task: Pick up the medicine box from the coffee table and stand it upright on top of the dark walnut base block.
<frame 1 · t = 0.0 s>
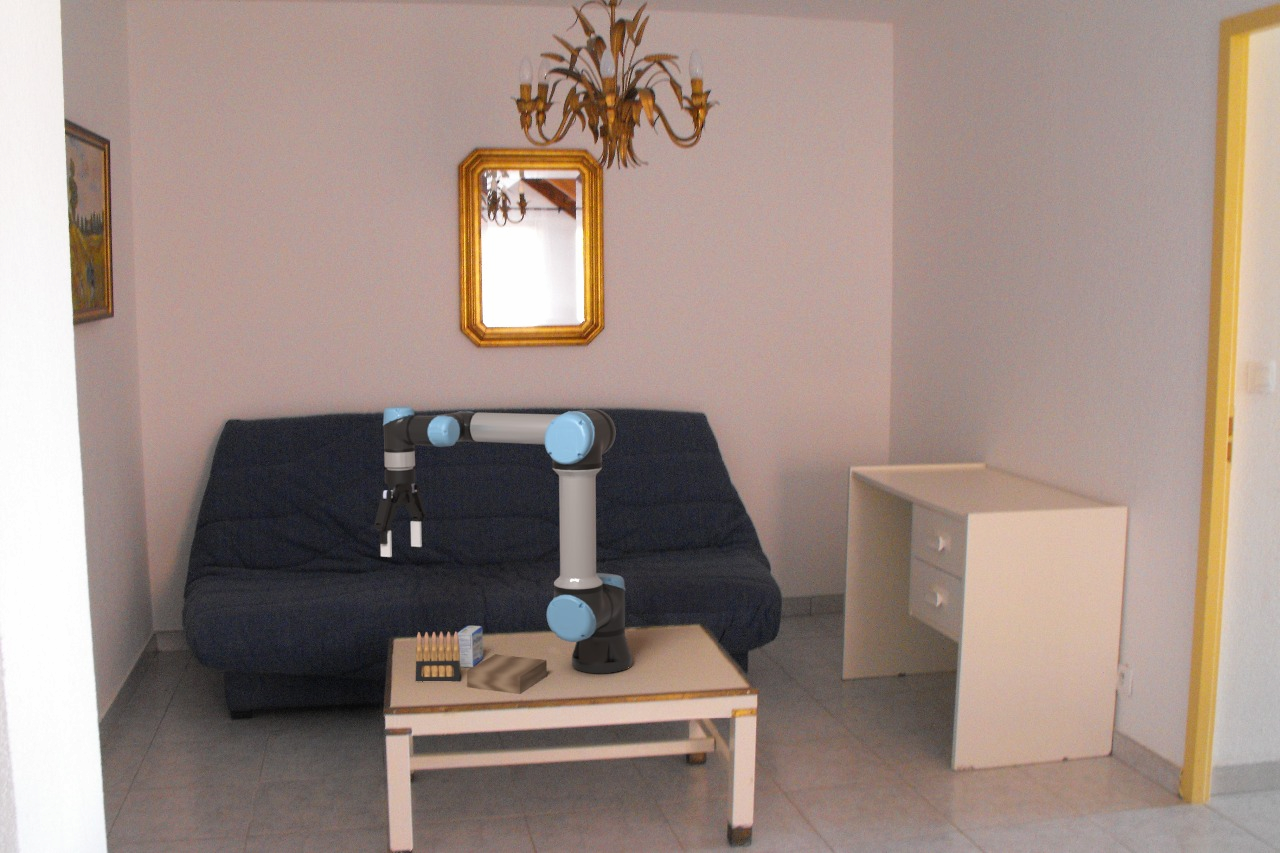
hand: (401, 551, 284), 28 cm above the table, tool pointing down, fingers open, 13 cm apart
walnut base: (507, 681, 269), on the table
ammunition clip: (438, 681, 270), on the table
medicine box: (469, 663, 284), on the table
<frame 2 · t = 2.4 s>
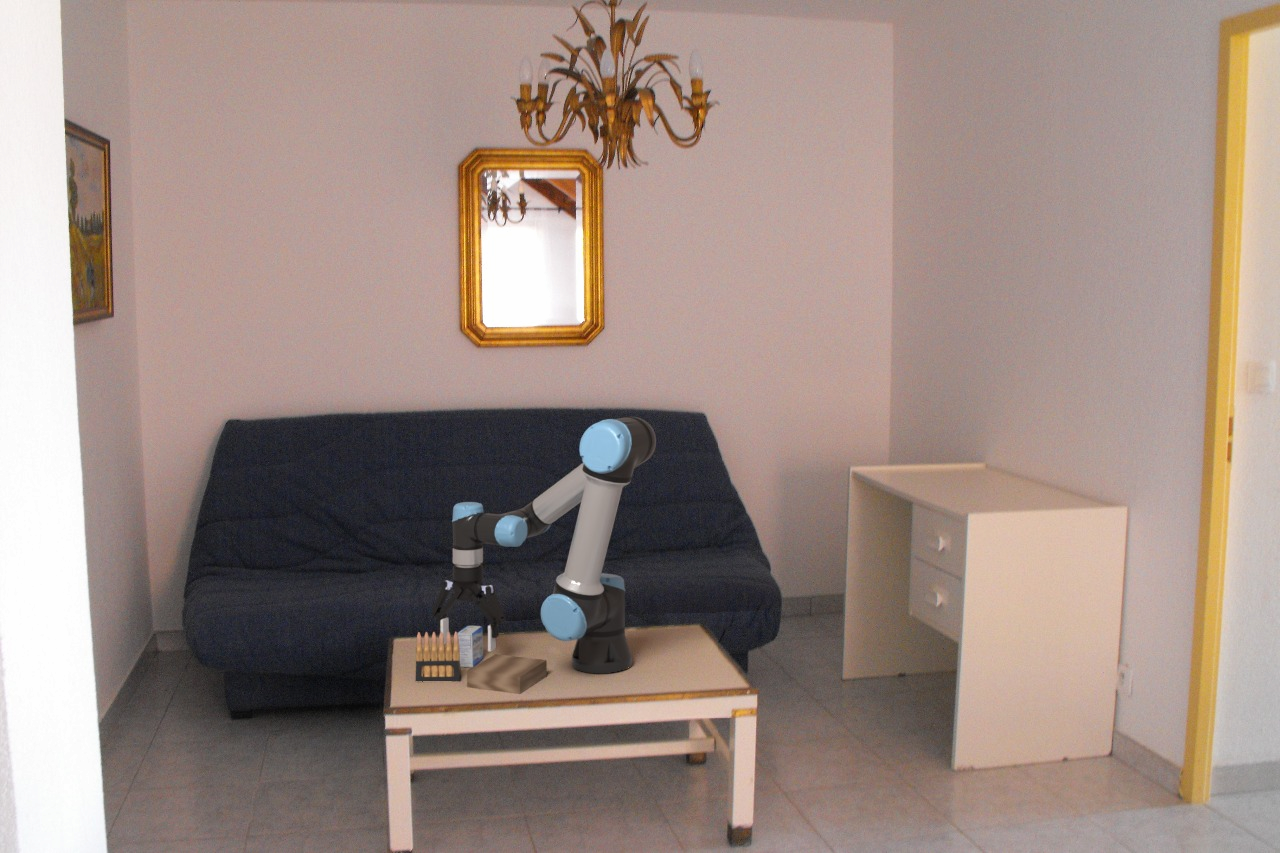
hand: (468, 647, 284), 4 cm above the table, tool pointing down, fingers open, 13 cm apart
nothing on the table moved.
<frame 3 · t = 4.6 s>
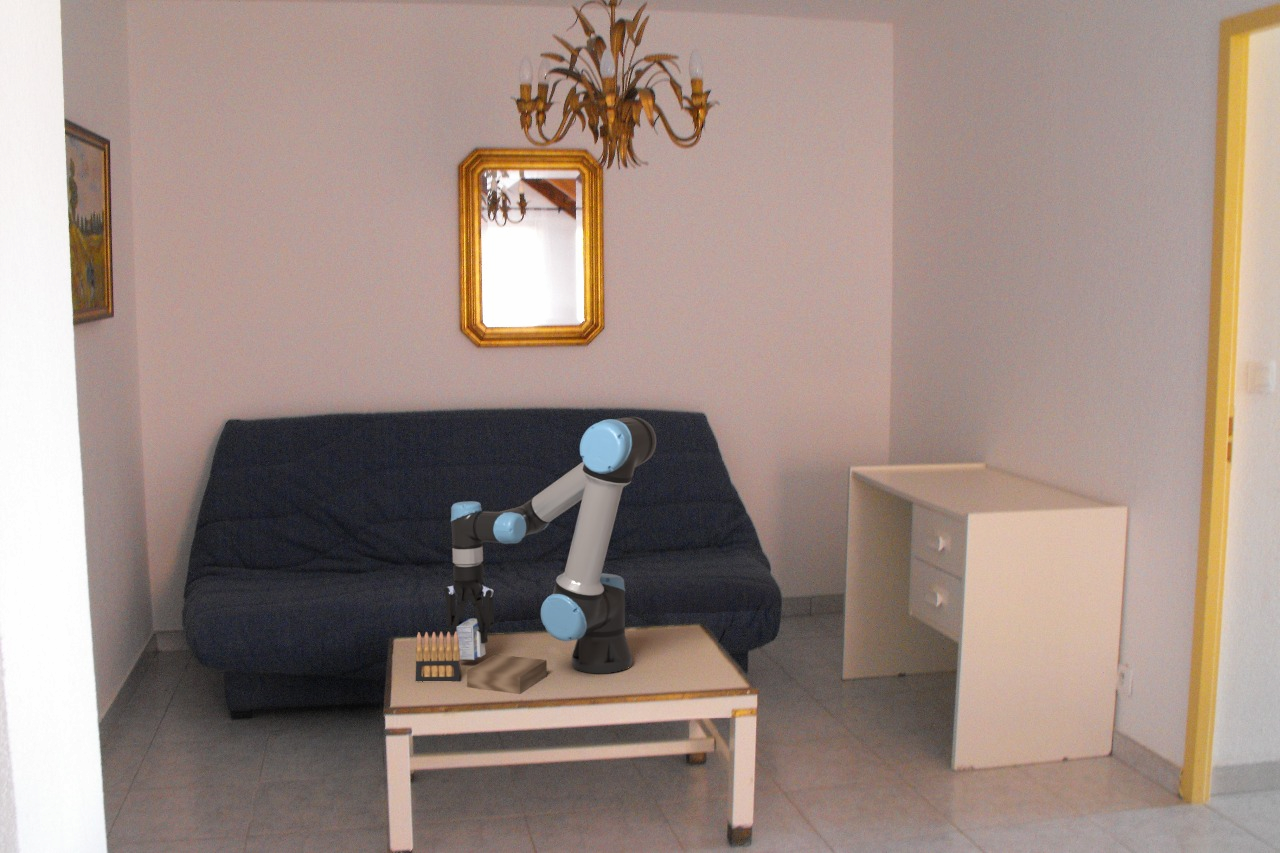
hand: (471, 654, 283), 2 cm above the table, tool pointing down, fingers closed on medicine box, 5 cm apart
medicine box: (471, 656, 283), point 2 cm above the table, touching gripper
everything else where it was.
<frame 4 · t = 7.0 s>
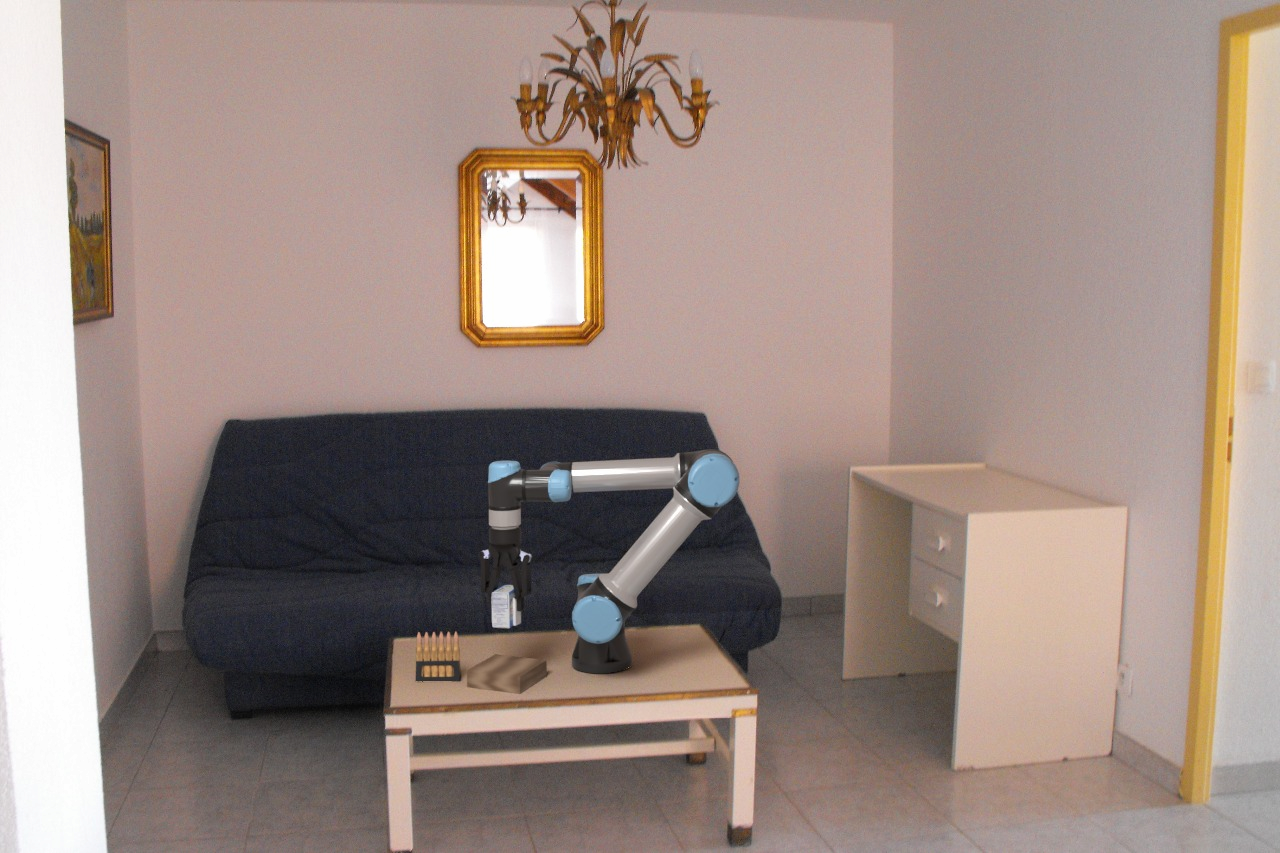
hand: (506, 622, 267), 14 cm above the table, tool pointing down, fingers closed on medicine box, 5 cm apart
medicine box: (506, 625, 267), point 14 cm above the table, touching gripper
everything else where it was.
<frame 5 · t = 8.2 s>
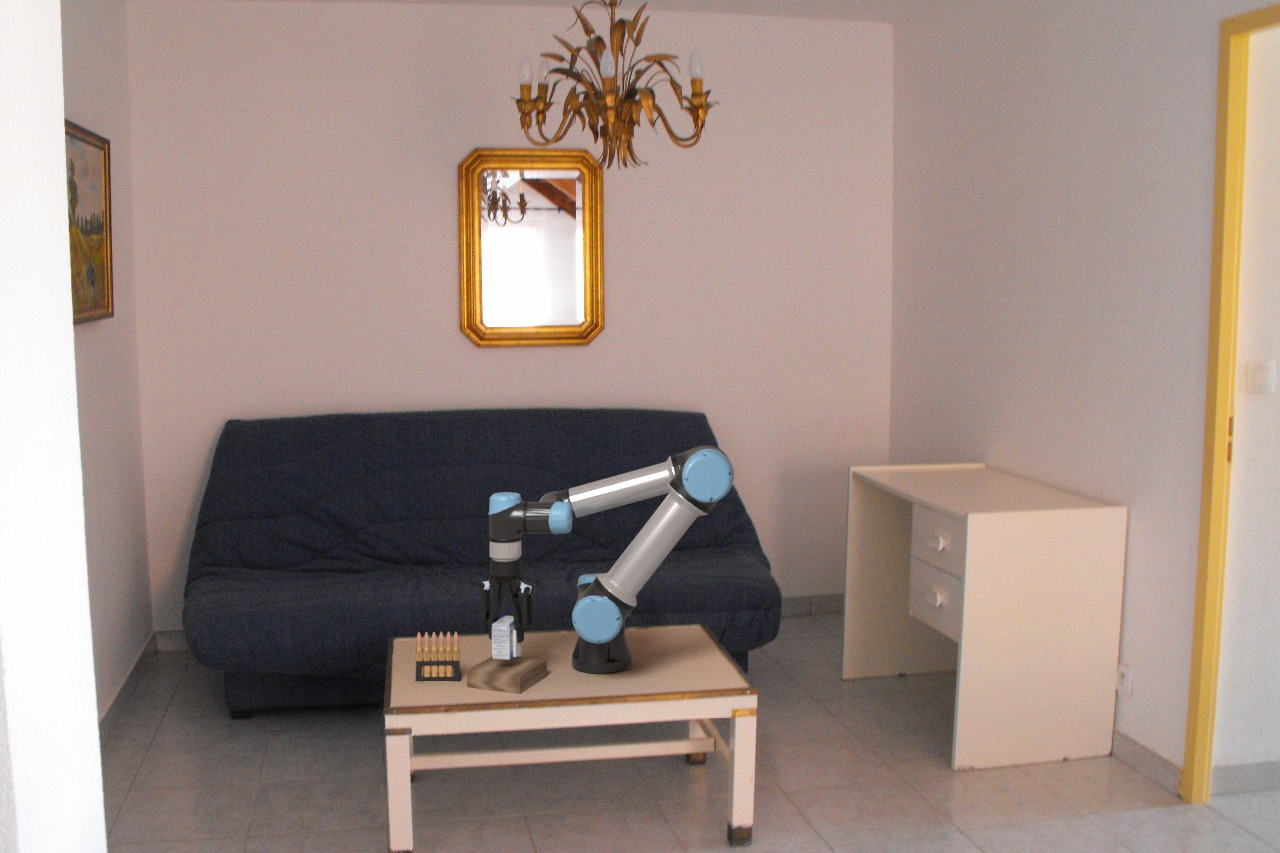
hand: (506, 653, 268), 7 cm above the table, tool pointing down, fingers closed on medicine box, 5 cm apart
medicine box: (506, 656, 268), point 6 cm above the table, touching gripper
everything else where it was.
when the fingers open (5 cm above the table, at t = 9.2 s): medicine box stays where it is, resting on walnut base.
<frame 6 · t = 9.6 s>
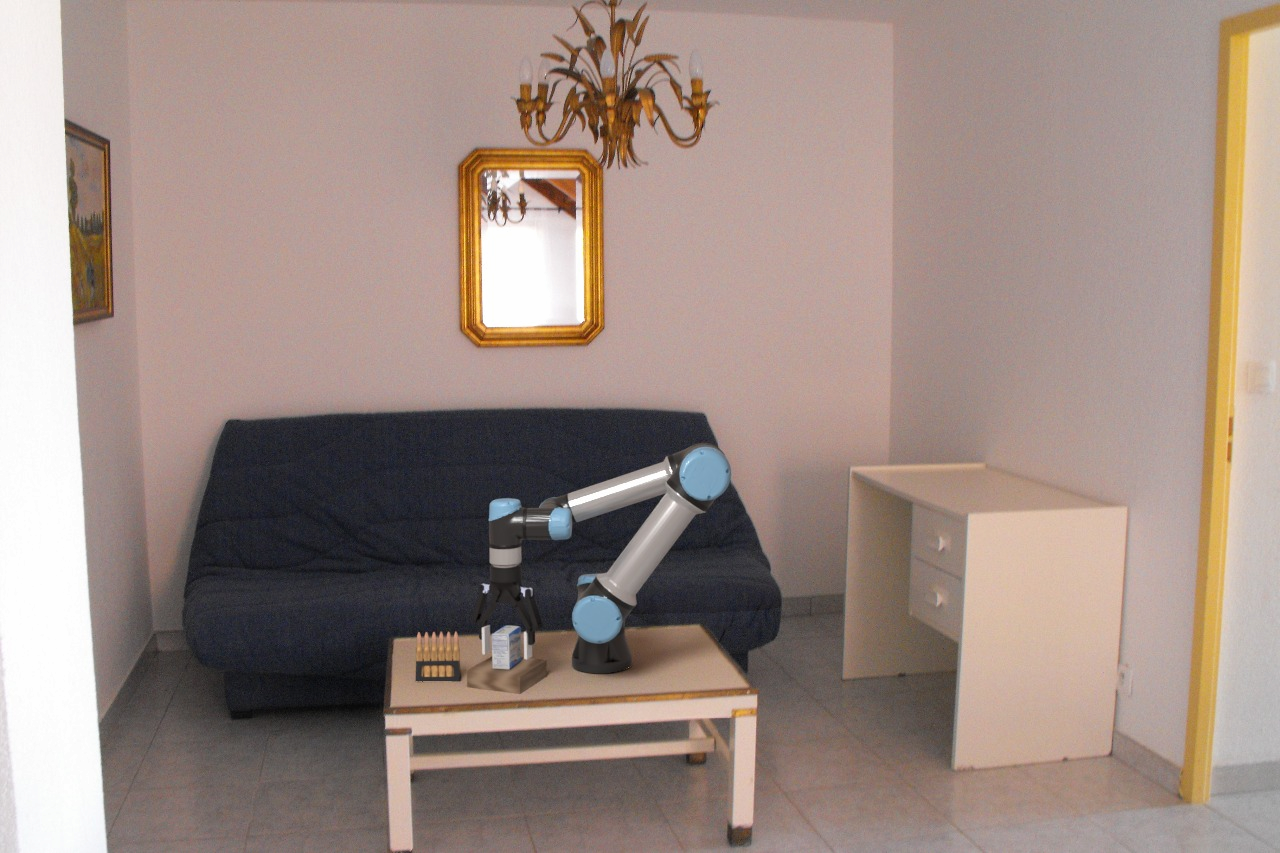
hand: (507, 655, 268), 6 cm above the table, tool pointing down, fingers open, 10 cm apart
medicine box: (507, 665, 268), point 4 cm above the table, touching walnut base
everything else where it was.
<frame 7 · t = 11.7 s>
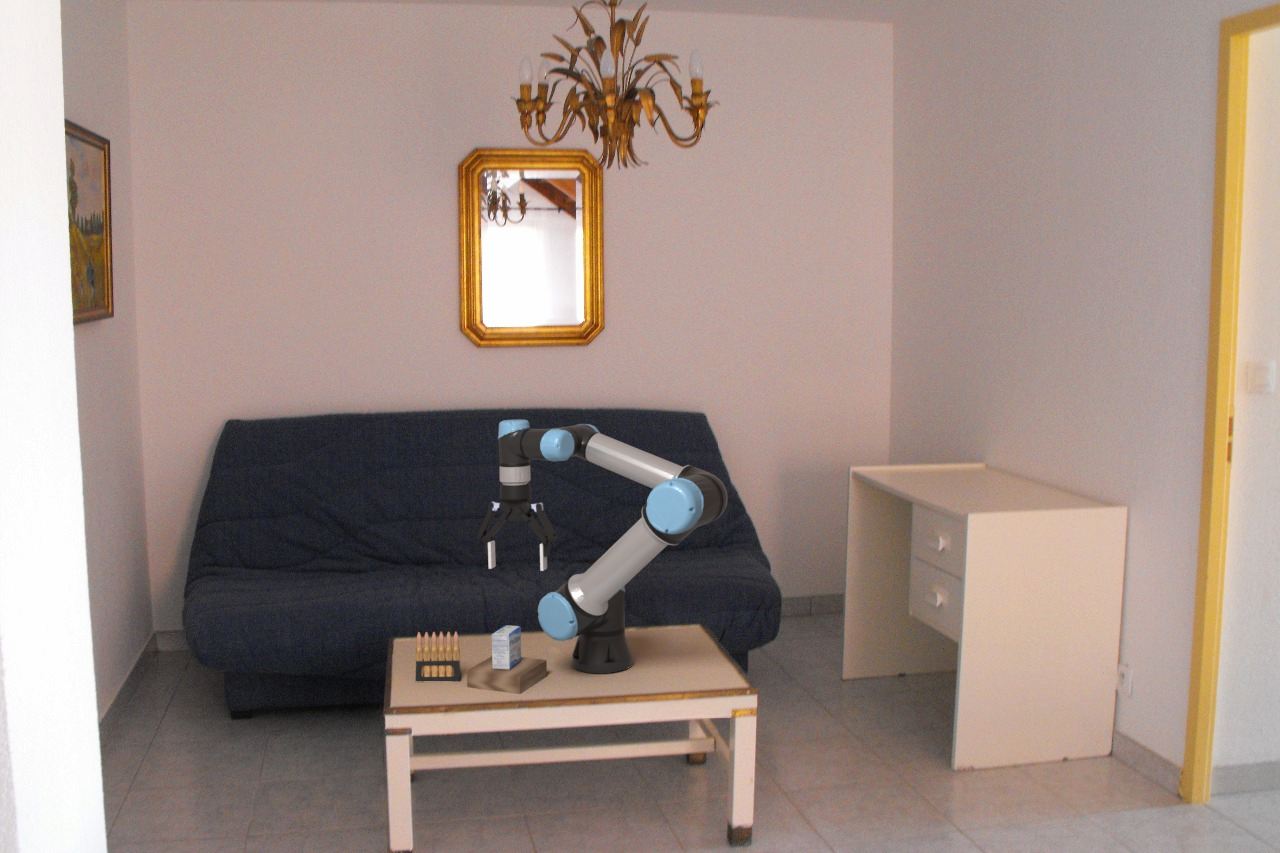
hand: (517, 568, 276), 25 cm above the table, tool pointing down, fingers open, 13 cm apart
nothing on the table moved.
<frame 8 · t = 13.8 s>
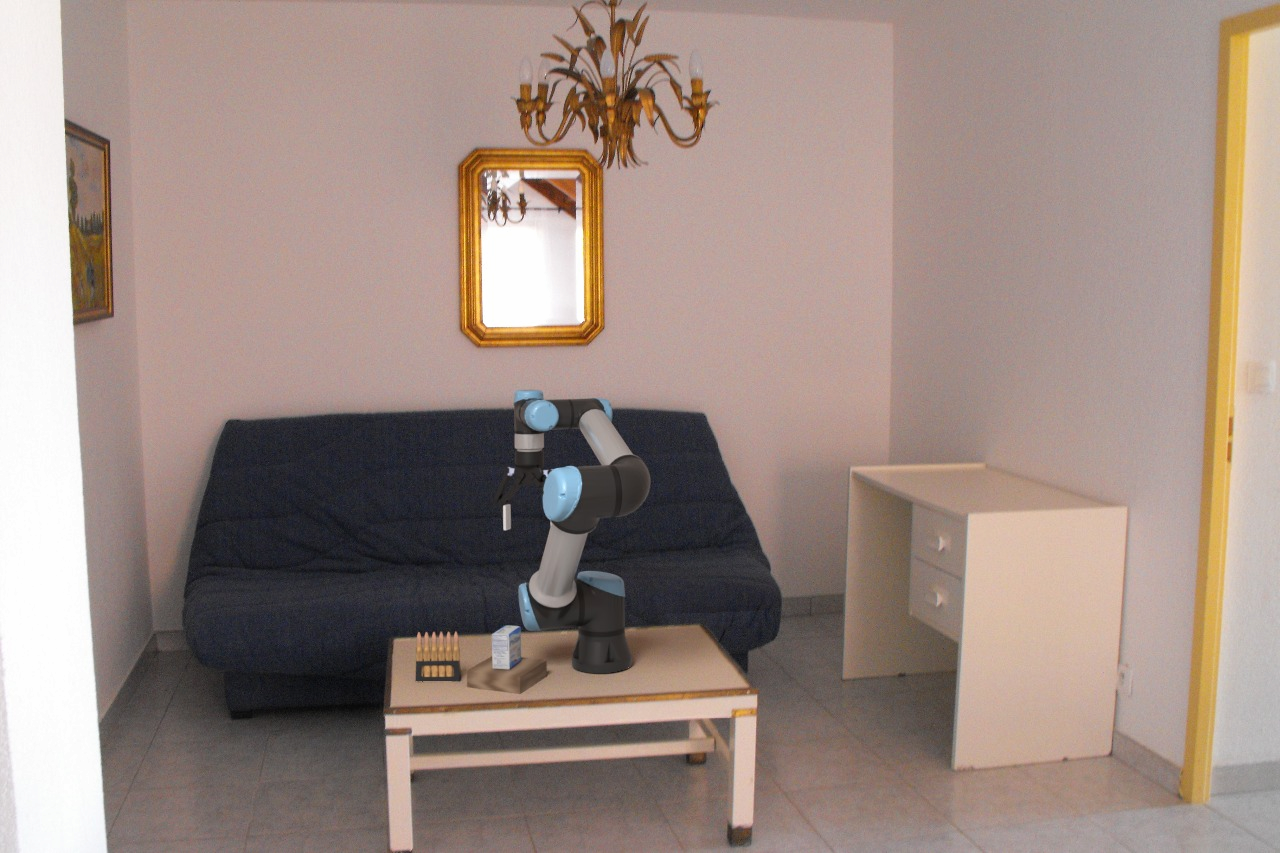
hand: (530, 531, 291), 32 cm above the table, tool pointing down, fingers open, 13 cm apart
nothing on the table moved.
at the end: medicine box inside the target area on the walnut base (0.1 cm from its centre), point 3.8 cm above the walnut base's base; medicine box tilted 0°; the gripper is holding nothing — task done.
